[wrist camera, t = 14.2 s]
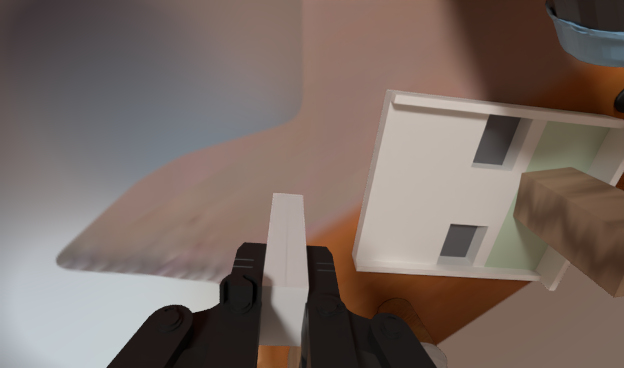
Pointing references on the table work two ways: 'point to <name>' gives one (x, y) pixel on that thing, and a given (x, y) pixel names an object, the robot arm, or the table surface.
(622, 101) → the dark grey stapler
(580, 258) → the walnut block
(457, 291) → the table surface
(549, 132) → the board
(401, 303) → the disposable coffee cup
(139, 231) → the table surface
